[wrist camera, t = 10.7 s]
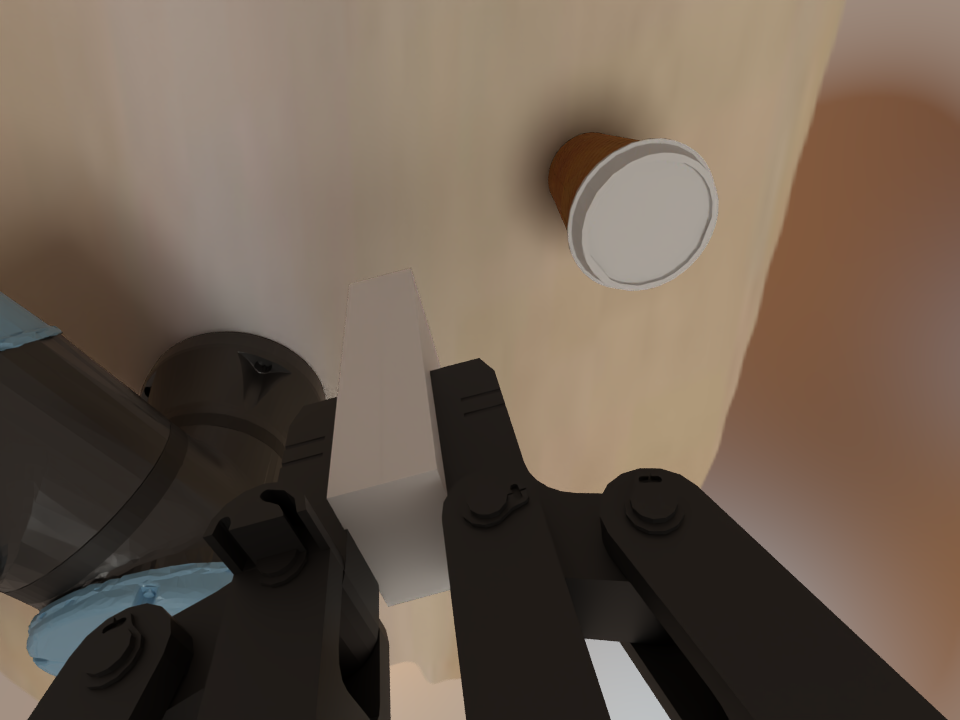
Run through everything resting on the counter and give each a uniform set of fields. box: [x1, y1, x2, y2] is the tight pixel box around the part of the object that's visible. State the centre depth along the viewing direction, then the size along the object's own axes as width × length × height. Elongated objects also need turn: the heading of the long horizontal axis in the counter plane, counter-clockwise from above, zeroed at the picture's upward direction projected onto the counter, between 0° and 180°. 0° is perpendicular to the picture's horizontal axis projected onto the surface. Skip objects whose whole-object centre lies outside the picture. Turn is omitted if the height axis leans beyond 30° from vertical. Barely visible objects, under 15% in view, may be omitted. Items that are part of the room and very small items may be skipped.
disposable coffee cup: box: [548, 132, 718, 291], centre depth 36 cm, size 10×10×12 cm
